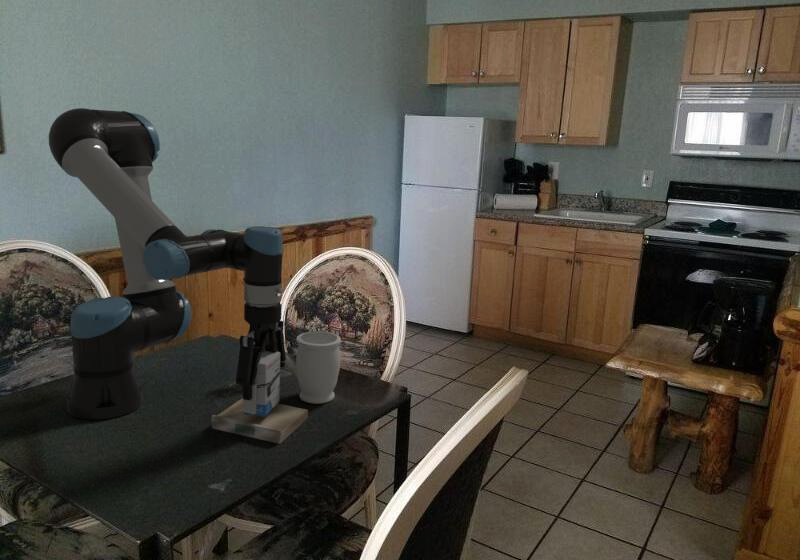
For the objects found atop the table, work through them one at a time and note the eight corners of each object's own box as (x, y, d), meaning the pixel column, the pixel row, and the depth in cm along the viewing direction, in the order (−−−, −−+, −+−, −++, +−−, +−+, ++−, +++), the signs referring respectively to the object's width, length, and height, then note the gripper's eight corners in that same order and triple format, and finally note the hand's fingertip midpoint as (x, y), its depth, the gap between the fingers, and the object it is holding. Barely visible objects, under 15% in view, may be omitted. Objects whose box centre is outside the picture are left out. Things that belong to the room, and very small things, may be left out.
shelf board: (211, 428, 126) (211, 416, 125) (244, 404, 138) (244, 393, 137) (279, 444, 121) (279, 431, 120) (307, 418, 133) (308, 406, 132)
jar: (330, 409, 138) (333, 347, 135) (288, 403, 140) (289, 341, 137) (344, 391, 148) (346, 333, 145) (304, 385, 150) (306, 328, 147)
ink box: (265, 417, 125) (266, 364, 122) (242, 414, 125) (243, 361, 123) (280, 401, 133) (281, 350, 130) (259, 398, 133) (259, 348, 131)
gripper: (250, 318, 113) (249, 428, 118) (303, 293, 133) (300, 388, 138) (216, 312, 115) (216, 421, 120) (273, 288, 135) (271, 382, 140)
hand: (261, 403), depth 129 cm, fingers closed on ink box, 9 cm apart
